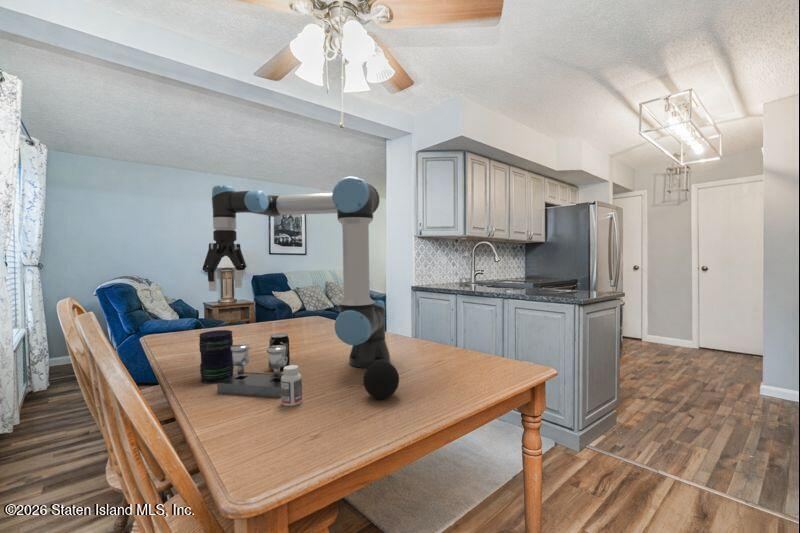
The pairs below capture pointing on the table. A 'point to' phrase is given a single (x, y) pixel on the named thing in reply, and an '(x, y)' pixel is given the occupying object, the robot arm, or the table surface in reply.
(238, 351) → the knob
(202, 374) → the storage jar
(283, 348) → the knob
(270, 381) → the mount
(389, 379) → the speaker
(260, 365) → the table surface
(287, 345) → the beverage can
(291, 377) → the pill bottle
